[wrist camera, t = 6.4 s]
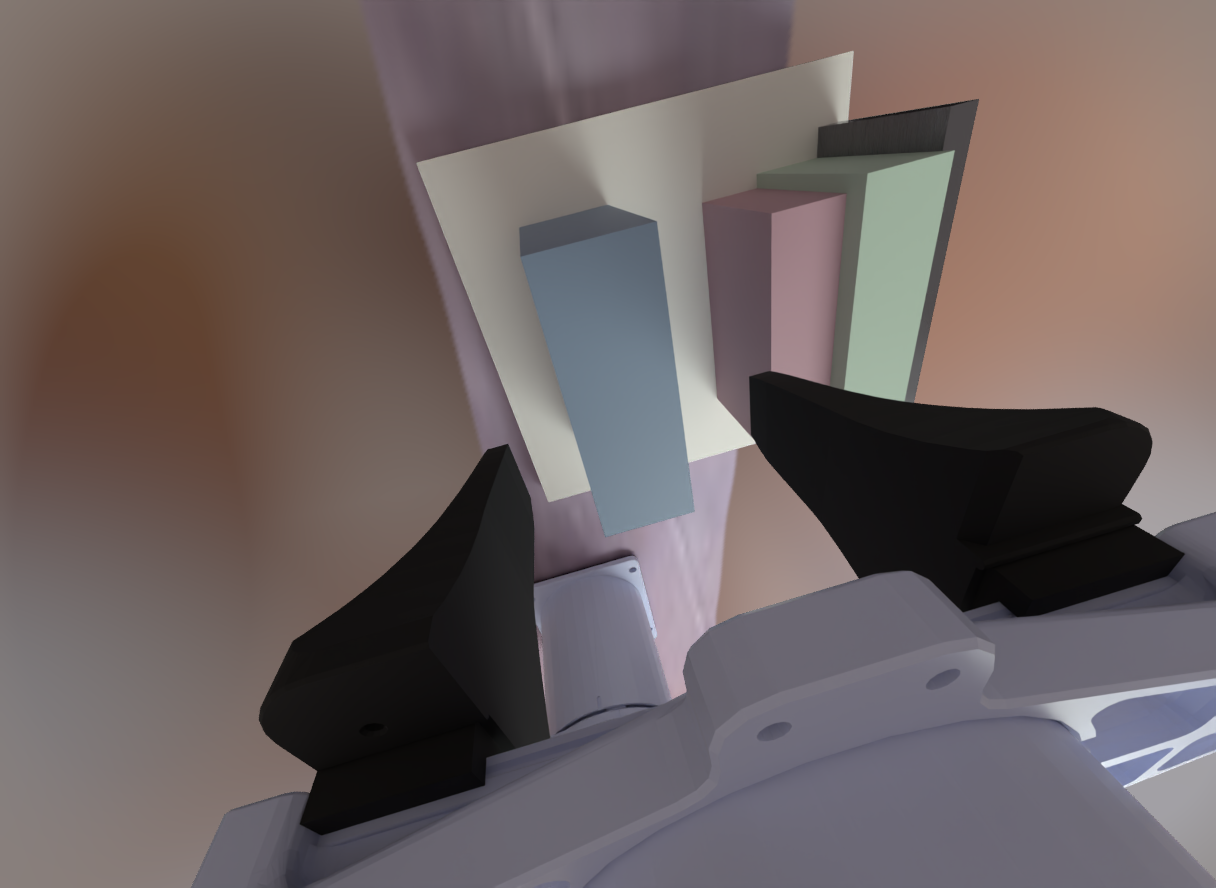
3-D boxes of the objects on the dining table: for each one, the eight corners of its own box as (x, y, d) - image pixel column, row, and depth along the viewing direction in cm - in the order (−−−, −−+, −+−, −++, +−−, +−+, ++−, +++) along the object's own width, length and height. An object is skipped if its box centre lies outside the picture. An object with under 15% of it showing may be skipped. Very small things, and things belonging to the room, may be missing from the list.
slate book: (647, 422, 22) (694, 511, 16) (581, 440, 22) (605, 537, 16) (607, 204, 16) (657, 221, 11) (519, 227, 16) (520, 256, 11)
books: (805, 382, 22) (895, 447, 17) (717, 407, 22) (781, 480, 17) (816, 157, 17) (954, 150, 12) (700, 188, 17) (786, 194, 11)
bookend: (818, 395, 23) (902, 456, 18) (804, 399, 23) (884, 461, 18) (838, 122, 16) (978, 99, 11) (818, 127, 16) (950, 106, 11)
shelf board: (810, 414, 25) (823, 424, 24) (547, 489, 25) (548, 502, 24) (833, 58, 16) (853, 50, 15) (422, 163, 16) (415, 162, 15)
